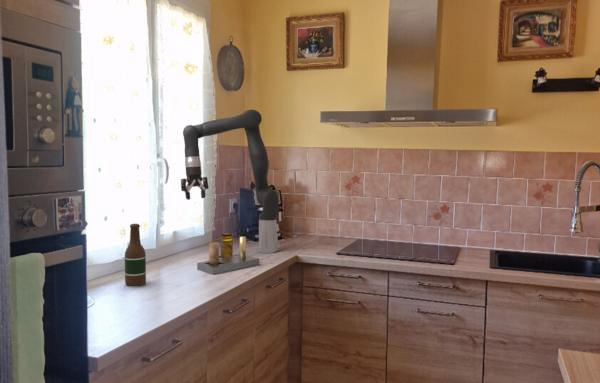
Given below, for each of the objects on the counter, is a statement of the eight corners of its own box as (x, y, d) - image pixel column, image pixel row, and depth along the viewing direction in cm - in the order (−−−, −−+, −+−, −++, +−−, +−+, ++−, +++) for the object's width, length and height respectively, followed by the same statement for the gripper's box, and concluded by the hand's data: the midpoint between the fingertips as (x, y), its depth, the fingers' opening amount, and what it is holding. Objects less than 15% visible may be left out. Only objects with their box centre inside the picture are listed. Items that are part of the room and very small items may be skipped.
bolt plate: (242, 260, 229) (243, 234, 228) (259, 264, 221) (259, 237, 220) (197, 269, 211) (197, 240, 210) (212, 274, 203) (212, 244, 202)
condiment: (235, 257, 236) (235, 234, 235) (219, 259, 231) (219, 235, 230) (229, 255, 242) (229, 231, 241) (213, 256, 237) (213, 233, 236)
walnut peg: (215, 268, 213) (215, 242, 212) (221, 270, 210) (221, 243, 209) (207, 270, 210) (207, 243, 209) (213, 271, 207) (212, 244, 206)
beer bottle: (145, 286, 183) (145, 225, 182) (124, 287, 181) (123, 225, 179) (146, 281, 191) (145, 222, 189) (125, 282, 189) (124, 222, 187)
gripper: (184, 166, 225) (187, 200, 226) (209, 165, 236) (212, 197, 236) (176, 167, 231) (179, 200, 231) (201, 165, 241) (203, 197, 242)
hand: (196, 198), depth 234 cm, fingers open, 8 cm apart
